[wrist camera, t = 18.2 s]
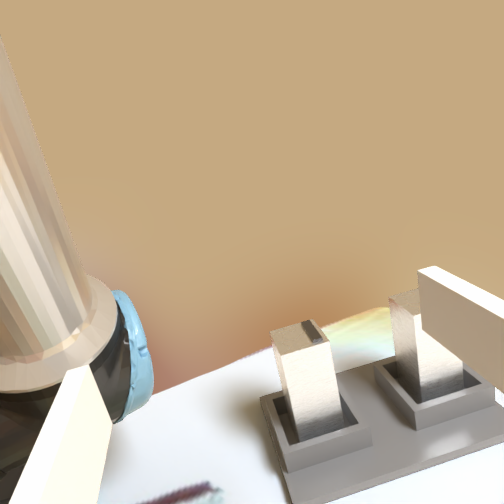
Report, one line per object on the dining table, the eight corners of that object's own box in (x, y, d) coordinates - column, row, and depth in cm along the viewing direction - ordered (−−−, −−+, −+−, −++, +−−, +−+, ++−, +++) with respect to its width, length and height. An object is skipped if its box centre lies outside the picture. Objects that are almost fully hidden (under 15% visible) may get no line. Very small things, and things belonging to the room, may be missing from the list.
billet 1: (302, 452, 42) (280, 353, 38) (289, 420, 46) (268, 329, 43) (346, 437, 42) (329, 338, 38) (329, 407, 47) (312, 316, 43)
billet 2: (423, 412, 43) (413, 313, 39) (399, 385, 48) (388, 294, 44) (464, 398, 44) (458, 299, 40) (436, 373, 48) (428, 282, 45)
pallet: (295, 513, 37) (288, 485, 35) (261, 403, 52) (255, 381, 51) (525, 434, 39) (525, 405, 38) (428, 351, 54) (426, 329, 53)
